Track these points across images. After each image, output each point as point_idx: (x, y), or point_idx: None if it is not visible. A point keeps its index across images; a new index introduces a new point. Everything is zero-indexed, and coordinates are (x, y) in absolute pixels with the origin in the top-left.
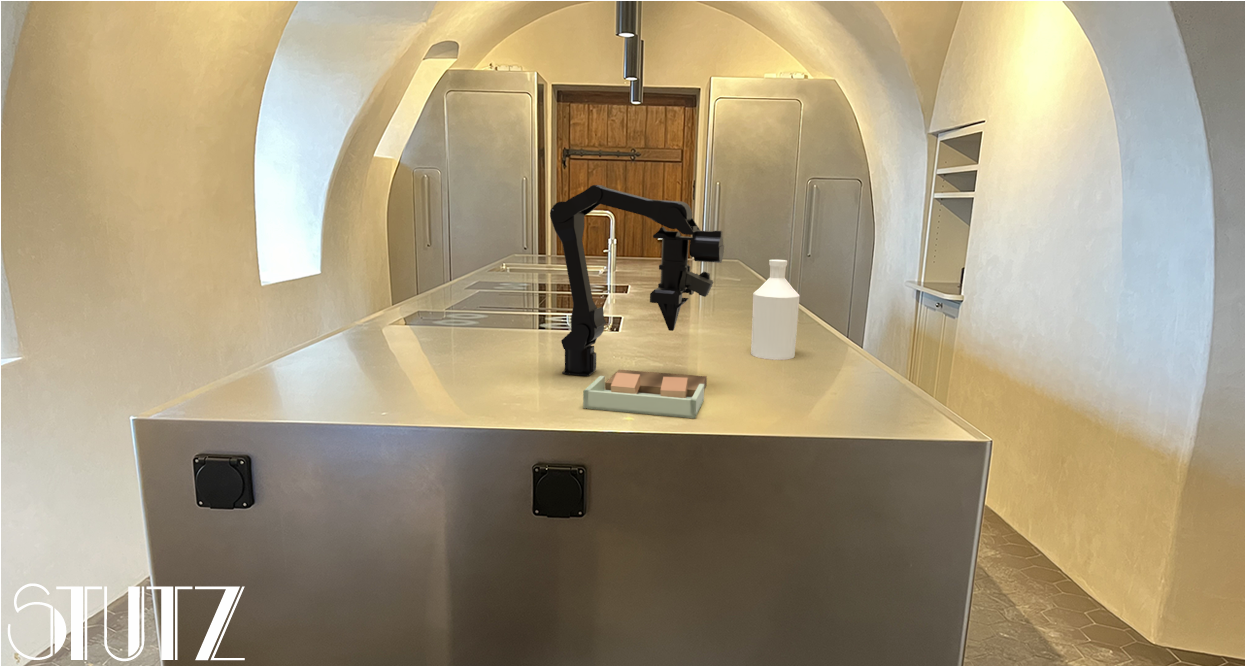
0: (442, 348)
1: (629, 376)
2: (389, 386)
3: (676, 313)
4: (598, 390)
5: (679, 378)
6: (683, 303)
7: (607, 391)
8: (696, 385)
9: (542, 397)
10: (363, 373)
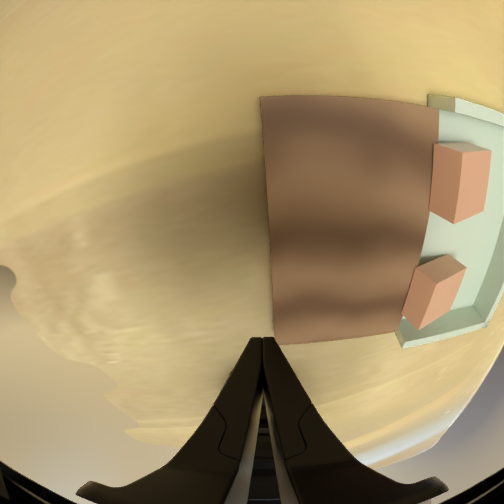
0: None
1: (436, 300)
2: (371, 446)
3: (326, 427)
4: (437, 321)
5: (464, 176)
6: (224, 495)
7: None
8: (395, 118)
9: (418, 367)
10: None
